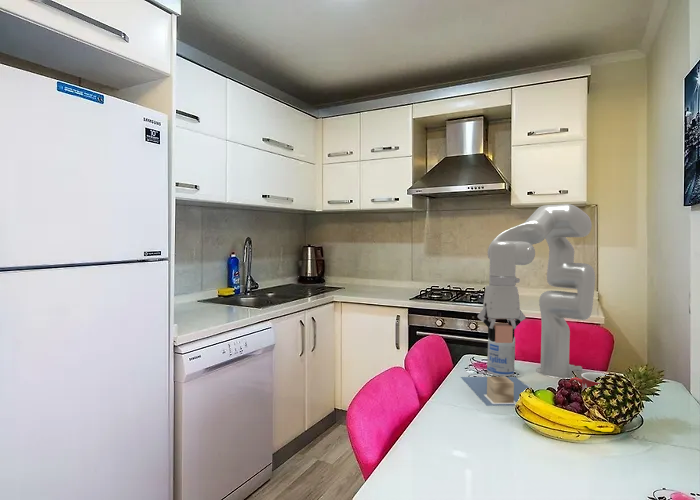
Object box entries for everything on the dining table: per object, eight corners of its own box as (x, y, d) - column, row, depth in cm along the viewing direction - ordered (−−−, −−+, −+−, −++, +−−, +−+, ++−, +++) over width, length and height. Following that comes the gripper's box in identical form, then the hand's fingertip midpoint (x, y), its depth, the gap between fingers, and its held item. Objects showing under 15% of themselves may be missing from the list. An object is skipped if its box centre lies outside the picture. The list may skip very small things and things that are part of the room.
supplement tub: (486, 376, 154) (487, 337, 154) (487, 369, 163) (488, 331, 163) (514, 380, 151) (515, 339, 151) (514, 372, 160) (514, 334, 160)
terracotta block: (505, 339, 132) (506, 323, 132) (512, 342, 127) (512, 326, 127) (490, 338, 132) (490, 323, 132) (496, 342, 127) (496, 326, 127)
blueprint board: (515, 379, 151) (515, 376, 151) (552, 408, 125) (552, 405, 125) (460, 379, 150) (460, 376, 150) (486, 408, 124) (486, 405, 124)
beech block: (505, 395, 133) (505, 376, 133) (513, 402, 127) (513, 383, 127) (486, 395, 133) (487, 376, 132) (493, 402, 127) (494, 383, 126)
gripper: (523, 280, 133) (522, 338, 133) (470, 280, 132) (469, 337, 133) (535, 283, 125) (533, 343, 126) (478, 282, 125) (477, 343, 125)
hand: (501, 340), depth 129 cm, fingers closed on terracotta block, 4 cm apart
